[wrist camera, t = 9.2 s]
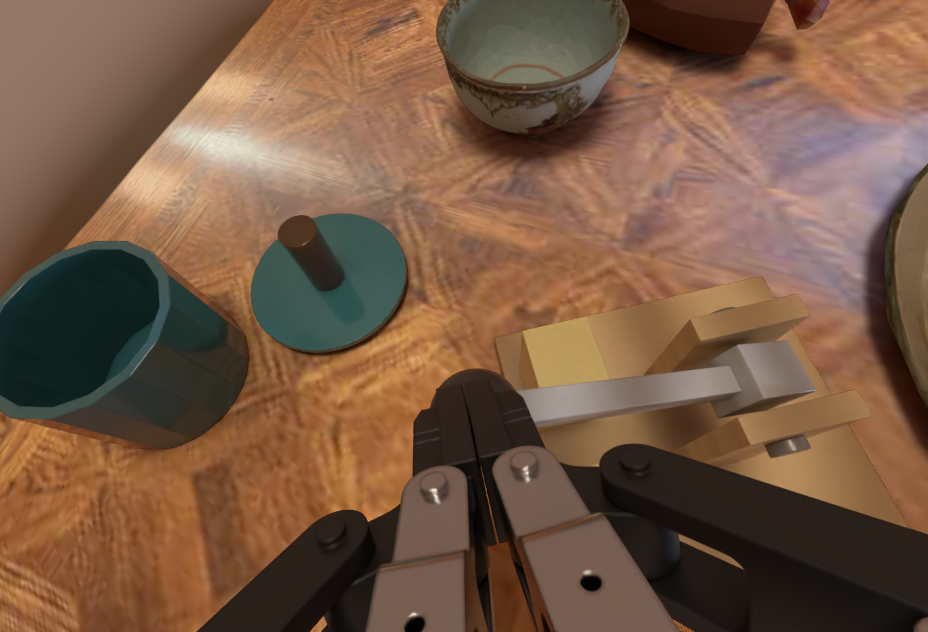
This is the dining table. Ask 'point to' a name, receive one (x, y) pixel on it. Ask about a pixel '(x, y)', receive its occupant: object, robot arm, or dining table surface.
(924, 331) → the cake
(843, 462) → the wooden lever switch base
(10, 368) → the crock
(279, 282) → the crock lid
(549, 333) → the pale yellow oblong block
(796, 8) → the meat
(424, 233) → the dining table surface
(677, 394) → the ball tipped lever
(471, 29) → the bowl
